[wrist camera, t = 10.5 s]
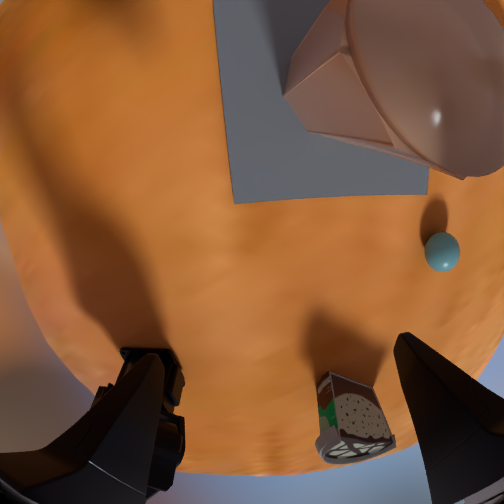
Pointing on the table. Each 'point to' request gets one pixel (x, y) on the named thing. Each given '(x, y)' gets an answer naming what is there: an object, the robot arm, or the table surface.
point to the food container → (350, 421)
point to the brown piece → (406, 81)
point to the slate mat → (288, 115)
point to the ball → (442, 251)
